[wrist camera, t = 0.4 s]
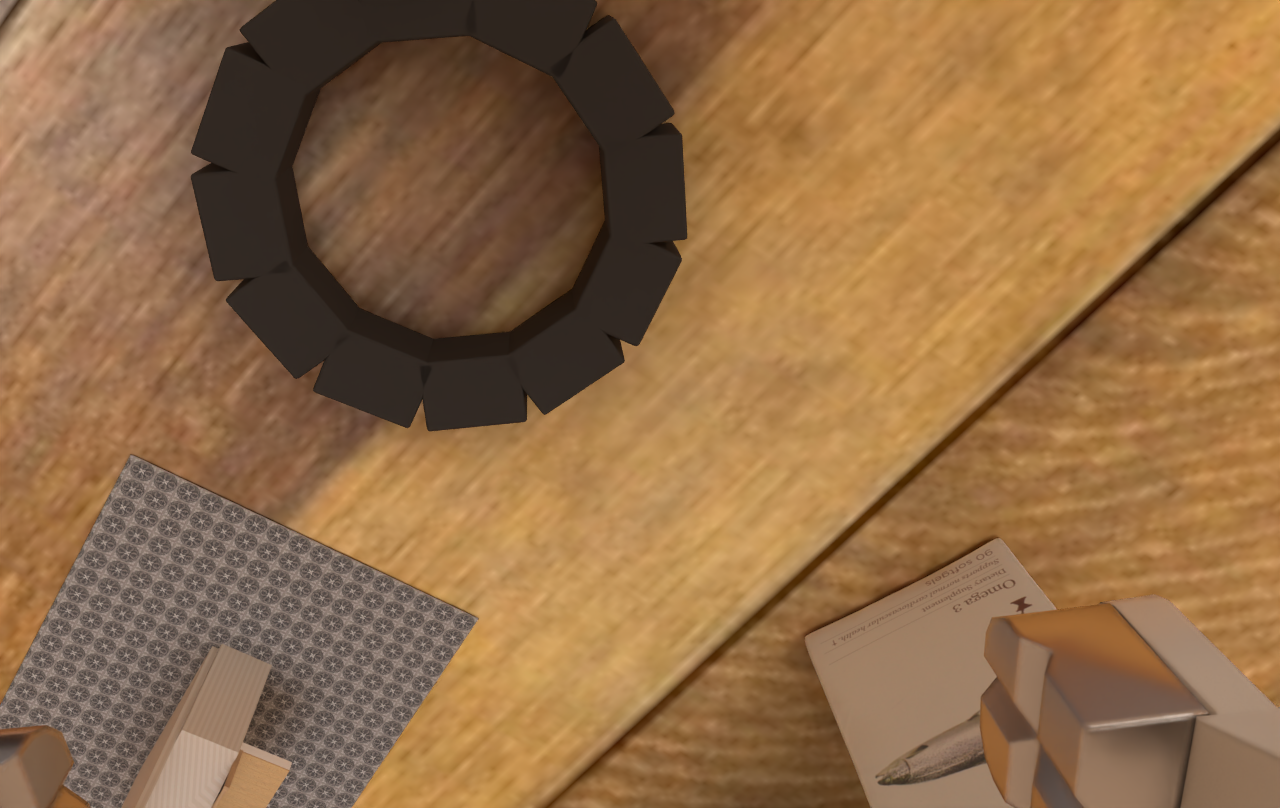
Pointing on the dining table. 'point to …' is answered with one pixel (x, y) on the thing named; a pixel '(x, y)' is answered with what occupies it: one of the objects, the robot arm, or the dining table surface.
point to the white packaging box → (923, 681)
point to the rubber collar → (377, 348)
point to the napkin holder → (225, 657)
